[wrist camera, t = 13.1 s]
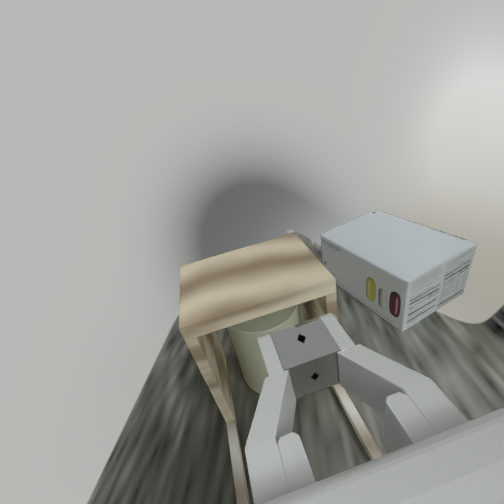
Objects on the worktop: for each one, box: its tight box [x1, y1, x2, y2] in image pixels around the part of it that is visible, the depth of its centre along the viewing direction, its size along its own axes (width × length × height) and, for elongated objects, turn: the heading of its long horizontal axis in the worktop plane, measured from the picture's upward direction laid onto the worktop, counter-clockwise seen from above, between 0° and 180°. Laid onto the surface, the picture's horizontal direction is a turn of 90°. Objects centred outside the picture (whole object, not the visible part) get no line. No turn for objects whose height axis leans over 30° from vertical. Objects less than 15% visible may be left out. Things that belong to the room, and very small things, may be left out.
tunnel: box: [179, 233, 383, 504], centre depth 24 cm, size 24×14×16 cm, turn 13°
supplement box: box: [321, 209, 477, 332], centre depth 42 cm, size 17×13×9 cm
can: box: [227, 304, 301, 394], centre depth 33 cm, size 9×9×12 cm
